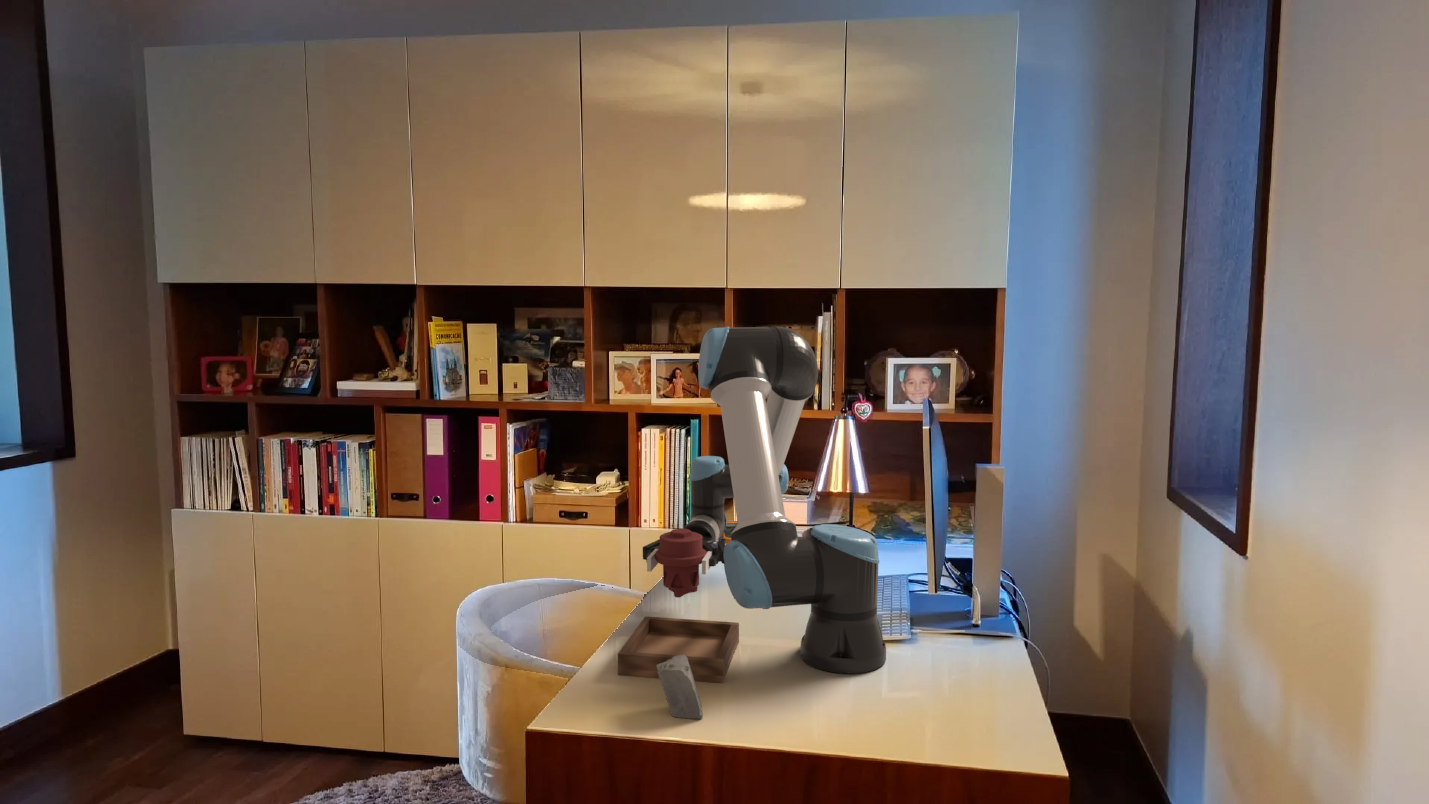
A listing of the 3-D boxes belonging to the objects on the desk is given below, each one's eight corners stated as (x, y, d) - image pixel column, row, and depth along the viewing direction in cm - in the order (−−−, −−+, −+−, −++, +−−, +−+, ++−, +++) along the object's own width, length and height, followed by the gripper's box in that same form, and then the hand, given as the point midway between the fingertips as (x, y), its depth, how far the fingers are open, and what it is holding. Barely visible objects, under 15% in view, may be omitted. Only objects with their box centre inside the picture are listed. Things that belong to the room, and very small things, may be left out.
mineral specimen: (696, 689, 141) (700, 647, 138) (707, 725, 133) (711, 680, 131) (651, 692, 139) (654, 649, 137) (659, 729, 131) (662, 683, 129)
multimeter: (724, 551, 223) (724, 538, 222) (720, 532, 241) (720, 520, 240) (757, 550, 223) (757, 537, 223) (751, 532, 241) (751, 520, 241)
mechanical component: (711, 586, 175) (700, 602, 166) (663, 583, 177) (649, 598, 168) (711, 525, 174) (700, 538, 164) (662, 523, 176) (649, 535, 166)
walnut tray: (738, 641, 163) (739, 622, 162) (722, 683, 145) (722, 661, 145) (645, 635, 166) (645, 616, 165) (617, 674, 148) (617, 653, 148)
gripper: (751, 556, 187) (734, 588, 165) (648, 551, 191) (619, 582, 169) (751, 521, 186) (734, 549, 164) (648, 517, 190) (618, 544, 168)
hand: (676, 566), depth 167 cm, fingers closed on mechanical component, 10 cm apart
